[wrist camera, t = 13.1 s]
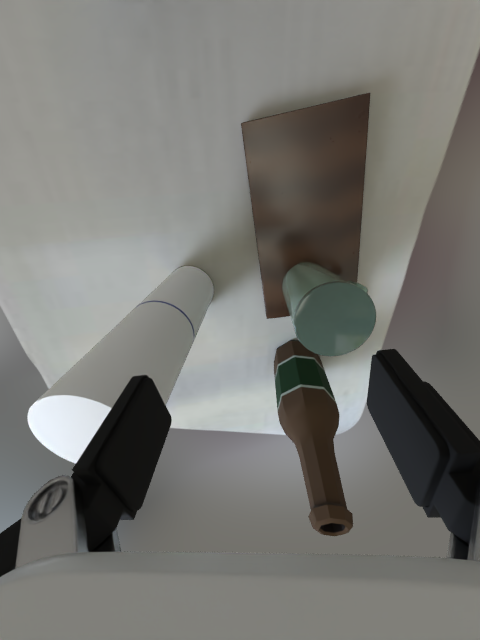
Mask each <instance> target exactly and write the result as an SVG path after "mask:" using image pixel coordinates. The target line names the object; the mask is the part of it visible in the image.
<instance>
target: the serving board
mask: <svg viewBox="0 0 480 640" xmlns="http://www.w3.org/2000/svg"><path fill="white" fill-rule="evenodd" d="M369 104H370V93H366V94H362V95H358V96H354V97H349V98H345V99H341V100H337V101H332V102H328V103H324V104H320V105H316V106H311V107H307V108H303V109H299V110H294V111H290V112H286V113H282V114H278V115H273V116H269V117H265V118H261V119H256V120H252V121H248V122H244V123H241V126H242V134H243V141H244V149H245V156H246V164H247V172H248V179H249V187H250V195H251V202H252V210H253V217H254V225H255V233H256V240H257V248H258V256H259V263H260V271H261V278H262V286H263V294H264V301H265V309H266V317H267V319H268V318H277V317H286V316H290V314H289V311H288V308H287V304H286V301H285V298H284V295H283V291H282V283H283V279H284V277H285V275H286V274H287V272H288V271H289V270H290V269H291V268H292V267H294V266H295V265H297V264H300V263H304V262H313V263H316V264H319V265H321V266H322V267H324V268H326V269H328V270H330V271H331V272H333V273H335V274H337V275H338V276H340V277H342V278H344V279H345V280H347V281H350V280H353V281H355V282H357V276H358V261H359V247H360V233H361V218H362V204H363V190H364V175H365V161H366V147H367V133H368V118H369Z"/></svg>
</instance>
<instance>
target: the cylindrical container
mask: <svg viewBox="0 0 480 640" xmlns="http://www.w3.org/2000/svg"><path fill="white" fill-rule="evenodd" d="M213 294H214V287H213V283H212V281H211V279H210V277H209V276H208V275H207V274H206V273H205V272H204V271H203V270H201V269H199V268H197V267H193V266H183V267H180V268H178V269H176V270H175V271H174V272H173V273H172V274H171V275H169V276H168V277H167V278H166V279H165V280H164V281H163V282H162V283H161V284H160V285H159V286H158V287H157V288H156V289H155V290H154V291H153V292H151V293H150V294H149V295H148V296H147V297H146V298H145V299H144V300H143V301H142V302H141V303H140V304H139V305H138V306H137V307H136V308H134V309H133V310H132V311H131V312H130V313H129V314H128V315H127V316H126V317H125V318H124V319H123V320H122V321H121V322H120V323H119V324H118V325H116V326H115V327H114V328H113V329H112V330H111V331H110V332H109V333H108V334H107V335H106V336H105V337H104V338H103V339H102V340H101V341H100V342H99V343H97V344H96V345H95V346H94V347H93V348H92V349H91V350H90V351H89V352H88V353H87V354H86V355H85V356H84V357H83V358H82V359H80V360H79V361H78V362H77V363H76V364H75V365H74V366H73V367H72V368H71V369H70V370H69V371H68V372H67V373H66V374H65V375H63V376H62V377H61V378H60V379H59V380H58V381H57V382H56V383H55V384H54V385H53V386H52V387H51V388H50V389H49V390H48V391H47V392H45V393H44V394H43V395H42V396H41V397H40V398H39V399H38V400H37V401H36V402H35V403H34V404H33V405H32V406H31V407H30V409H29V413H28V423H29V426H30V429H31V430H32V432H33V434H34V436H35V437H36V438H37V439H38V440H39V441H40V442H41V443H42V444H43V445H44V446H45V447H47V448H48V449H49V450H51V451H52V452H54V453H55V454H57V455H58V456H60V457H62V458H64V459H66V460H68V461H71V462H73V463H77V461H78V460H79V458H80V457H81V455H82V454H83V452H84V450H85V449H86V447H87V446H88V444H89V443H90V441H91V440H92V438H93V436H94V435H95V433H96V432H97V430H98V429H99V427H100V426H101V424H102V423H103V421H104V419H105V418H106V416H107V415H108V413H109V412H110V410H111V409H112V407H113V406H114V404H115V402H116V401H117V399H118V398H119V396H120V395H121V393H122V392H123V390H124V388H125V387H126V385H127V384H128V382H129V381H130V379H131V378H132V377H133V376H139V375H147V376H148V377H149V378H152V380H153V381H154V383H155V385H156V387H157V389H158V391H159V393H160V395H161V397H162V399H163V401H164V404H165V406H166V403H167V401H168V399H169V397H170V394H171V392H172V390H173V387H174V385H175V383H176V380H177V378H178V376H179V374H180V371H181V369H182V367H183V364H184V362H185V360H186V358H187V355H188V353H189V351H190V348H191V346H192V344H193V341H194V339H195V337H196V335H197V332H198V330H199V328H200V325H201V323H202V321H203V318H204V316H205V314H206V311H207V309H208V307H209V305H210V302H211V300H212V297H213Z"/></svg>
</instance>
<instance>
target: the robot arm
mask: <svg viewBox="0 0 480 640" xmlns="http://www.w3.org/2000/svg"><path fill="white" fill-rule="evenodd" d="M367 406H368V409H369V411H370V414H371V416H372V418H373V420H374V422H375V424H376V426H377V428H378V430H379V432H380V434H381V436H382V438H383V440H384V442H385V444H386V446H387V448H388V450H389V452H390V454H391V455H392V458H393V460H394V462H395V464H396V466H397V468H398V470H399V472H400V474H401V476H402V478H403V480H404V482H405V484H406V486H407V488H408V490H409V492H410V494H411V496H412V498H413V500H414V502H415V503H416V504H417V505H418V506H422V507H423V509H424V511H425V513H426V515H427V517H441V518H442V520H443V521H444V523H445V525H446V527H447V529H448V530H449V531H450V532H451V535H450V540H449V547H448V552H447V558H440V557H438V558H437V557H414V556H389V555H388V556H387V555H347V554H294V553H222V552H121V548H120V544H119V538H118V533H117V528H116V527H117V525H118V522H119V520H120V519H121V520H133V519H134V518H135V515H136V512H137V510H139V509H140V508H141V506H142V504H143V502H144V499H145V496H146V493H147V490H148V488H149V485H150V482H151V479H152V476H153V473H154V471H155V467H156V465H157V462H158V459H159V457H160V454H161V451H162V448H163V445H164V443H165V440H166V437H167V434H168V431H169V428H170V426H171V416H170V414H169V412H168V410H167V408H166V406H165V404H164V401H163V399H162V397H161V395H160V393H159V391H158V389H157V387H156V385H155V383H154V381H153V380H152V378H149V377H148V376H147V375H139V376H133V377H132V378H131V379H130V381H129V382H128V384H127V385H126V387H125V388H124V390H123V392H122V393H121V395H120V396H119V398H118V399H117V401H116V402H115V404H114V406H113V407H112V409H111V410H110V412H109V413H108V415H107V416H106V418H105V419H104V421H103V423H102V424H101V426H100V427H99V429H98V430H97V432H96V433H95V435H94V436H93V438H92V440H91V441H90V443H89V444H88V446H87V447H86V449H85V450H84V452H83V454H82V455H81V457H80V458H79V460H78V461H77V463H76V464H75V466H74V467H73V469H72V470H73V471H74V473H73V474H72V476H71V477H70V476H66V475H62V476H58V477H56V478H54V479H52V480H50V481H48V482H47V483H46V484H44V485H43V486H42V487H41V488H40V489H39V490H38V491H37V492H36V493H34V495H33V496H32V497H31V499H30V500H29V501H28V503H27V505H26V507H25V509H24V511H23V514H22V518H21V519H20V520H18V521H17V522H15V523H14V524H13V525H11V526H10V527H9V528H7V529H6V530H4V531H3V532H2V533H1V534H0V640H480V441H479V440H478V438H477V437H476V436H475V435H474V434H473V433H472V431H471V430H470V429H469V428H468V427H467V426H466V425H465V423H464V422H463V421H462V420H461V419H460V418H459V417H458V415H457V414H456V413H455V412H454V411H453V410H452V409H451V408H450V406H449V405H448V404H447V403H446V402H445V401H444V400H443V398H442V397H441V396H440V395H439V394H438V393H437V391H436V390H435V389H434V388H433V387H432V386H431V385H430V384H429V383H427V382H423V381H422V380H421V379H420V378H419V376H418V375H417V374H416V373H415V372H414V370H413V369H412V368H411V367H410V366H409V364H408V363H407V362H406V361H405V360H404V359H403V357H402V356H401V355H400V354H399V353H398V352H397V351H396V350H395V349H389V350H379V351H377V353H376V355H373V356H372V361H371V370H370V379H369V388H368V397H367Z"/></svg>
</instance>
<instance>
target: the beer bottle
mask: <svg viewBox="0 0 480 640" xmlns="http://www.w3.org/2000/svg"><path fill="white" fill-rule="evenodd" d="M274 374H275V385H276V397H277V408H278V416H279V421H280V424H281V426H282V428H283V430H284V432H285V434H286V435H287V436H288V437H289V438H290V439H291V440H292V441H293V442H294V443H295V445H296V448H297V451H298V454H299V457H300V462H301V466H302V471H303V475H304V480H305V485H306V489H307V494H308V498H309V503H310V508H311V512H310V514H309V519H310V521H311V524H312V527H313V528H314V529H315V530H316V531H318V532H319V533H320V534H323V535H330V536H338V535H342V534H346V533H348V532H349V531H350V529H351V528H352V527H353V519H352V513H351V512H349V511H348V510H347V507H346V502H345V498H344V493H343V489H342V485H341V480H340V475H339V471H338V467H337V462H336V458H335V453H334V444H333V438H334V436H335V434H336V431H337V428H338V425H339V412H338V408H337V404H336V401H335V398H334V395H333V393H332V390H331V387H330V385H329V382H328V379H327V376H326V374H325V371H324V368H323V365H322V363H321V360H320V358H319V356H318V354H316V353H314V352H312V351H310V350H308V349H307V348H306V347H305V346H303V344H302V343H301V342H300V341H292V340H291V341H289V342H287V343H286V344H284V345H282V346H281V347H279V348H277V351H276V356H275V361H274Z"/></svg>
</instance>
